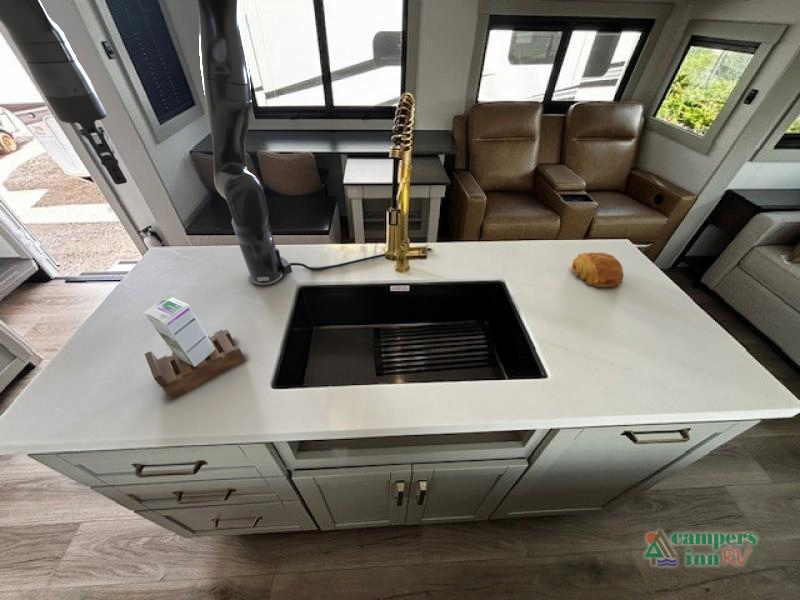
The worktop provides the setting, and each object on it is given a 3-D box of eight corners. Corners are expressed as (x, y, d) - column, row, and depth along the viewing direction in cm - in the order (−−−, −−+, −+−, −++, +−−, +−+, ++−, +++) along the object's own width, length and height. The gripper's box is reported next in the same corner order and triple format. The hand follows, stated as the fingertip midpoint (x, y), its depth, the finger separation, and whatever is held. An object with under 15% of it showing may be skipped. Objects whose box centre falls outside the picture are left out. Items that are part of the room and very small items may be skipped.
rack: (232, 340, 82) (221, 318, 76) (245, 360, 77) (235, 338, 72) (162, 375, 74) (144, 353, 68) (172, 399, 69) (153, 378, 64)
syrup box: (216, 349, 73) (190, 302, 64) (194, 368, 69) (162, 322, 60) (198, 340, 75) (170, 294, 65) (175, 359, 71) (142, 312, 61)
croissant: (564, 266, 113) (569, 246, 108) (612, 264, 111) (620, 244, 106) (577, 292, 102) (584, 272, 97) (631, 291, 100) (641, 270, 95)
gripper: (99, 95, 58) (144, 183, 69) (88, 82, 66) (130, 163, 77) (45, 100, 54) (102, 192, 65) (40, 86, 62) (91, 171, 73)
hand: (117, 177), depth 71 cm, fingers open, 8 cm apart
